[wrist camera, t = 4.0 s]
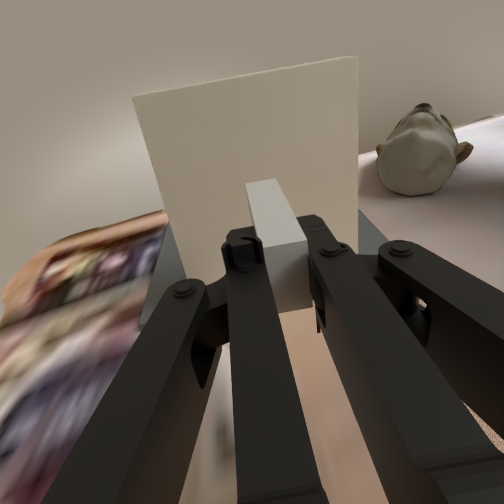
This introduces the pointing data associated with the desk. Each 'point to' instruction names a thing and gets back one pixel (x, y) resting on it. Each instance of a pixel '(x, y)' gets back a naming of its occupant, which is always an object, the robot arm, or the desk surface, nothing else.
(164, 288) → the rubber mat
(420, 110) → the ceramic sculpture
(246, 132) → the glazed tile
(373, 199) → the desk surface
